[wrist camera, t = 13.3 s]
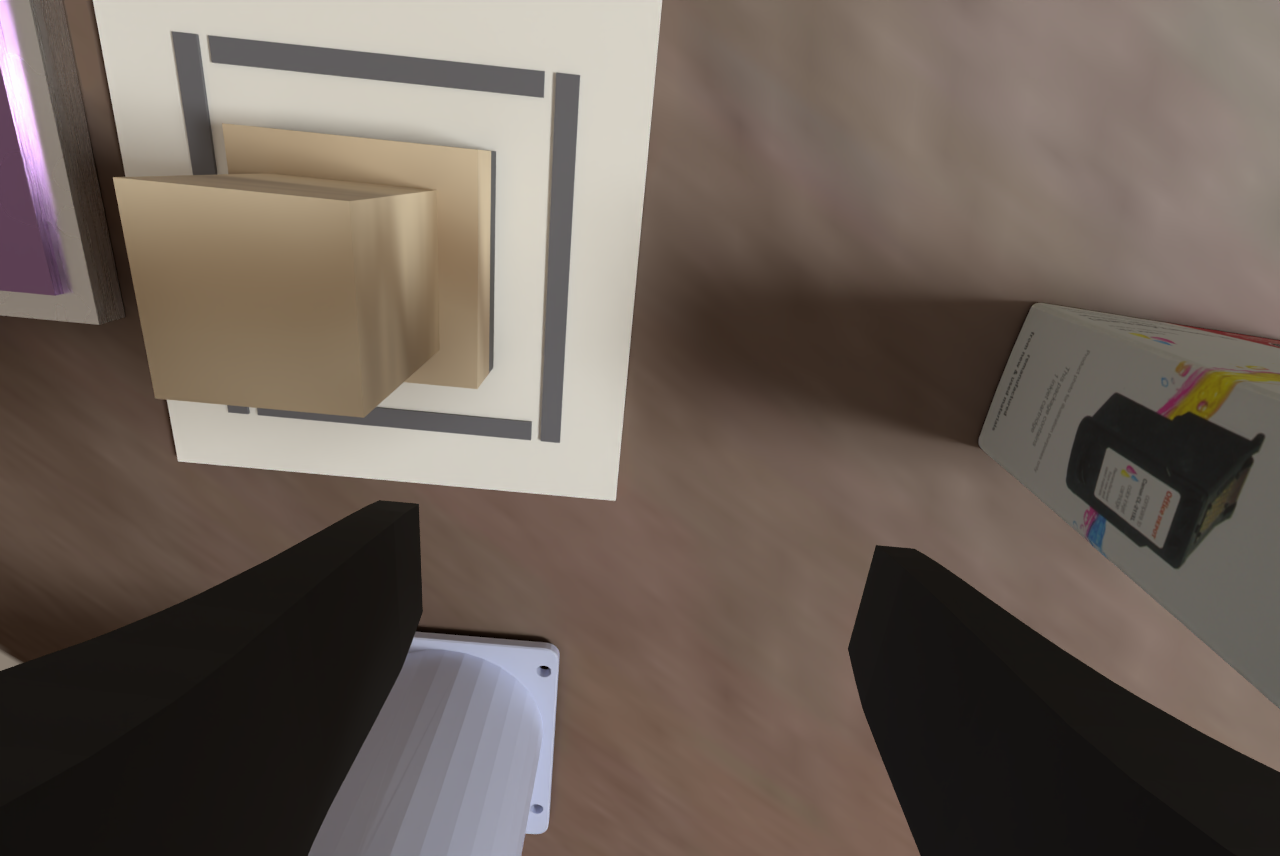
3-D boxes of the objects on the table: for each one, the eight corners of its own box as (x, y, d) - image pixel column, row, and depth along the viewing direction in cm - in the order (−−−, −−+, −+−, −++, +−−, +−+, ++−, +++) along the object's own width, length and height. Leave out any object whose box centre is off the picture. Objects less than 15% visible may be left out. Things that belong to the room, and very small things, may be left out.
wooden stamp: (493, 367, 20) (417, 468, 13) (291, 348, 19) (112, 441, 13) (496, 151, 17) (405, 143, 11) (267, 127, 17) (38, 105, 11)
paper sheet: (615, 496, 22) (615, 502, 21) (184, 457, 21) (175, 462, 21) (662, -1, 16) (662, -5, 16) (90, -65, 16) (76, -70, 16)
